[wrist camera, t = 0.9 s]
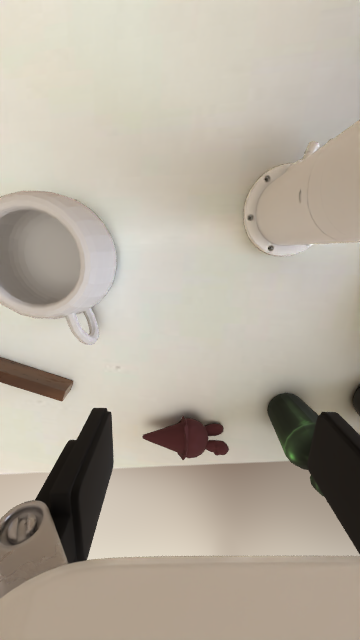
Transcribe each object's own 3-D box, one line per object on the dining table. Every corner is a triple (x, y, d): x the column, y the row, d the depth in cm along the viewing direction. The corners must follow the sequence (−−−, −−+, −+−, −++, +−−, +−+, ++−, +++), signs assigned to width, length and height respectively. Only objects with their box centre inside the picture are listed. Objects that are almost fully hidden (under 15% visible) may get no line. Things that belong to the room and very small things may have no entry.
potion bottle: (255, 419, 47) (303, 518, 29) (273, 382, 45) (337, 465, 27) (294, 430, 48) (362, 532, 30) (313, 395, 46) (398, 483, 28)
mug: (-12, 224, 37) (-78, 215, 27) (90, 179, 35) (59, 152, 26) (59, 349, 42) (25, 378, 32) (149, 314, 41) (142, 333, 31)
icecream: (140, 469, 41) (225, 469, 43) (142, 442, 38) (236, 443, 40) (142, 432, 47) (217, 433, 49) (144, 406, 44) (226, 408, 46)
